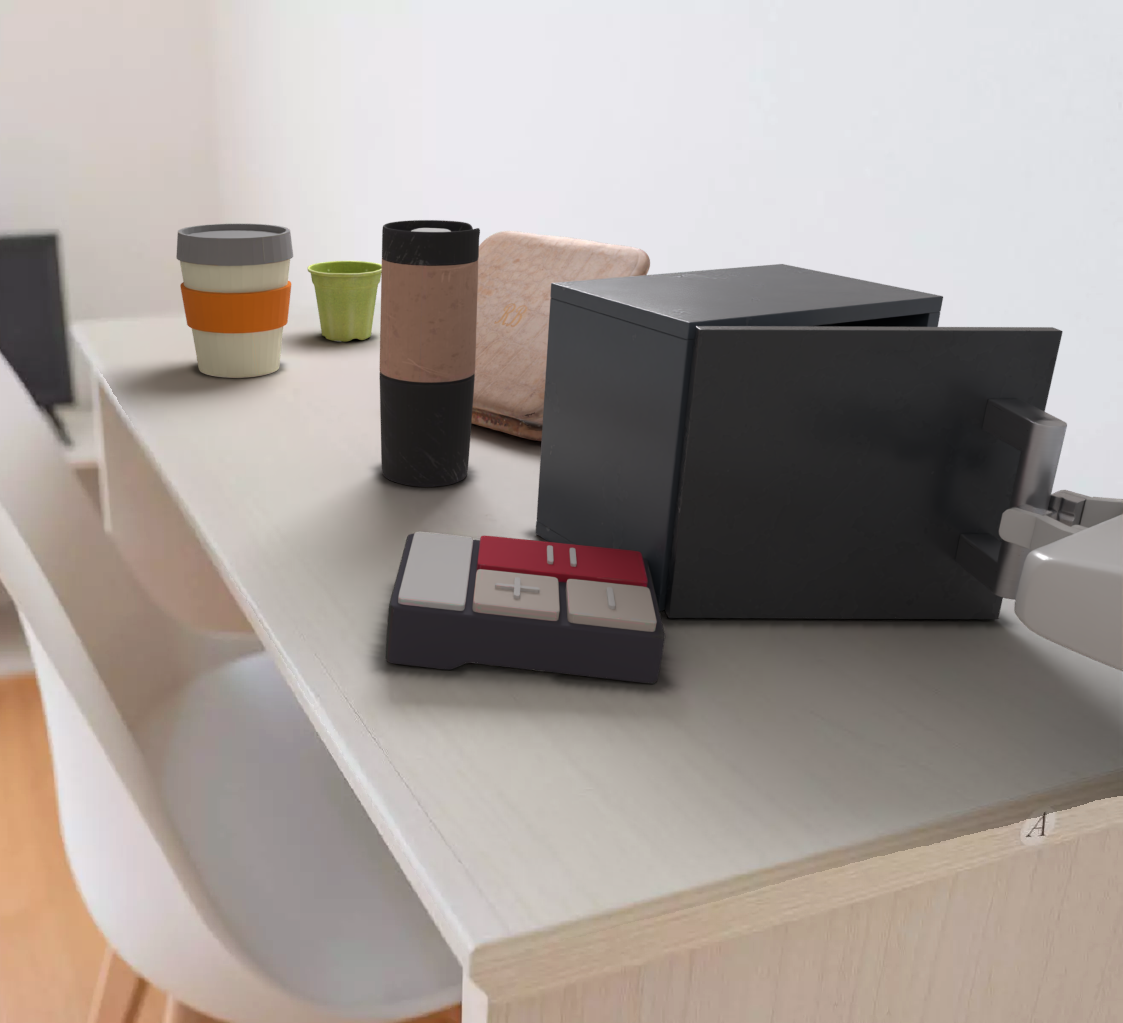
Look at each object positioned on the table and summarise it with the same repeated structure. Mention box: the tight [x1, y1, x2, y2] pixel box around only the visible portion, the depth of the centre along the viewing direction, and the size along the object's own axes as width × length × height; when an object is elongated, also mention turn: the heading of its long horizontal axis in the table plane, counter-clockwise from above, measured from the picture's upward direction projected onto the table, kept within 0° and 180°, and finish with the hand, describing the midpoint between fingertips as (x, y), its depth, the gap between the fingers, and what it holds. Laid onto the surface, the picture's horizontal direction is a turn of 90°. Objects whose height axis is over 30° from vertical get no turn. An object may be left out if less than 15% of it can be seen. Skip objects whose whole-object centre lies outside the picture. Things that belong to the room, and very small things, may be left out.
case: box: [471, 230, 651, 442], centre depth 111 cm, size 20×21×16 cm
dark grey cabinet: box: [535, 263, 944, 612], centre depth 78 cm, size 14×20×18 cm
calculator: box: [384, 531, 666, 685], centre depth 68 cm, size 11×4×15 cm
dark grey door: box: [664, 326, 1068, 620], centre depth 65 cm, size 6×20×18 cm, turn 90°
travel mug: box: [379, 219, 481, 488], centre depth 92 cm, size 8×8×20 cm
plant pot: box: [307, 260, 382, 343], centre depth 142 cm, size 9×9×9 cm
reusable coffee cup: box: [175, 223, 294, 379], centre depth 126 cm, size 13×13×15 cm
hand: (1027, 512), depth 62 cm, fingers closed
